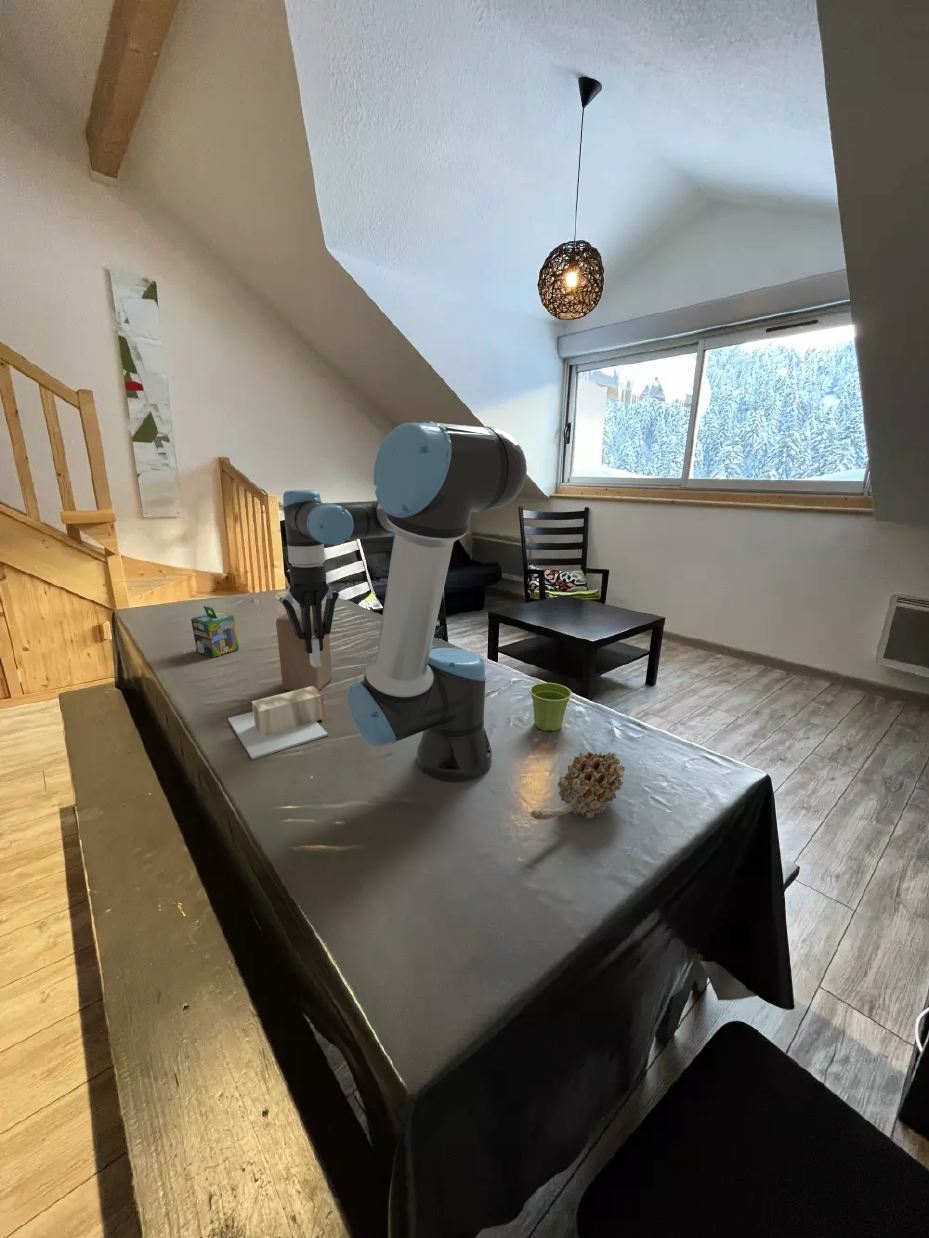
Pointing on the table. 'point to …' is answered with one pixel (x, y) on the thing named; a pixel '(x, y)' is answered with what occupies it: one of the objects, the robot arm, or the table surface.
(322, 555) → the robot arm
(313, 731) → the mat
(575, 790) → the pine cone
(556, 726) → the plant pot
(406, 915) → the table surface
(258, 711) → the birch block
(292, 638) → the block
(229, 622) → the chalk box
